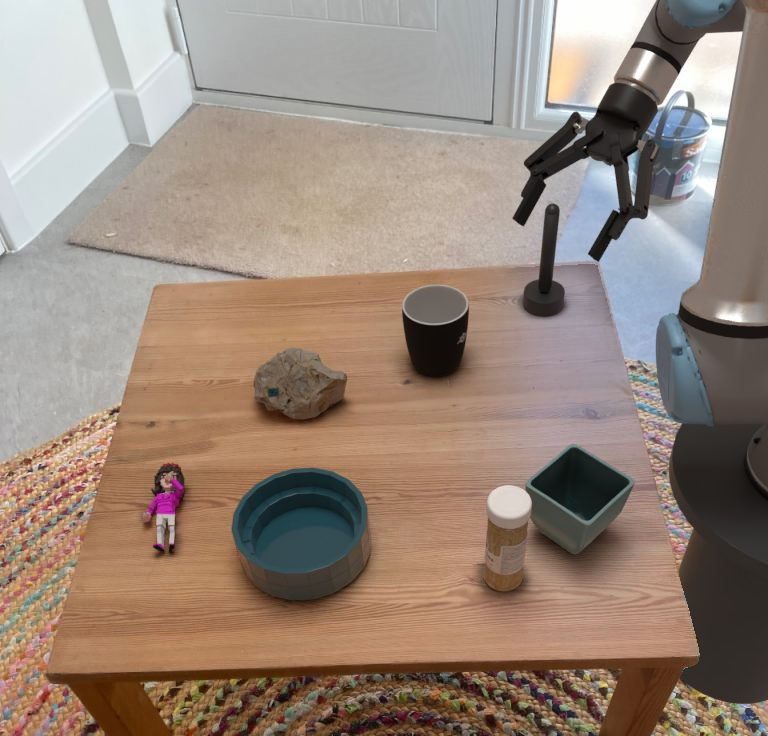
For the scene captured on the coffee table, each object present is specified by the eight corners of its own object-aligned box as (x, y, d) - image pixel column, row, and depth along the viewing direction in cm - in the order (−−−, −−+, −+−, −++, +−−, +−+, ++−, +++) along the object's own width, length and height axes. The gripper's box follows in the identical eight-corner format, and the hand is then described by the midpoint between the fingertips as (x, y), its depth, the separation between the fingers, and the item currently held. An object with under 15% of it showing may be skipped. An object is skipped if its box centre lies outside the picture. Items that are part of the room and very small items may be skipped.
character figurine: (191, 554, 102) (193, 474, 108) (179, 532, 97) (181, 450, 104) (144, 560, 102) (149, 480, 108) (130, 539, 97) (136, 456, 104)
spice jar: (478, 564, 97) (482, 487, 87) (517, 557, 97) (525, 479, 87) (488, 596, 94) (493, 521, 84) (528, 589, 94) (537, 513, 84)
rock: (240, 414, 114) (253, 355, 107) (256, 387, 118) (269, 329, 111) (325, 445, 114) (343, 389, 107) (337, 417, 119) (355, 361, 112)
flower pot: (624, 530, 99) (637, 479, 92) (578, 575, 95) (588, 526, 88) (564, 492, 103) (572, 441, 96) (518, 534, 99) (523, 483, 92)
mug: (465, 385, 117) (466, 326, 109) (401, 382, 118) (397, 323, 110) (471, 330, 124) (473, 271, 116) (411, 328, 125) (408, 270, 118)
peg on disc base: (570, 310, 126) (583, 210, 113) (533, 320, 125) (542, 220, 112) (552, 288, 129) (563, 189, 117) (516, 298, 128) (523, 198, 116)
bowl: (388, 580, 96) (385, 548, 92) (258, 621, 94) (248, 590, 89) (349, 486, 106) (344, 453, 101) (230, 521, 103) (219, 489, 99)
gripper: (723, 134, 111) (635, 281, 117) (572, 82, 124) (500, 217, 129) (709, 109, 105) (618, 265, 110) (552, 56, 117) (477, 199, 123)
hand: (554, 240), depth 120 cm, fingers open, 13 cm apart
